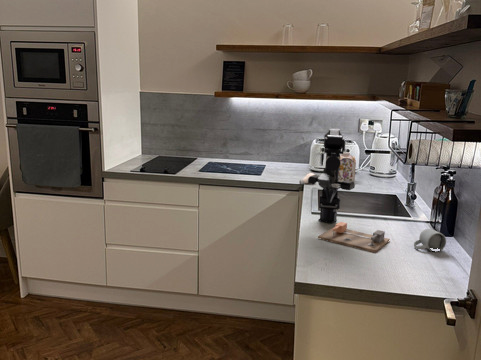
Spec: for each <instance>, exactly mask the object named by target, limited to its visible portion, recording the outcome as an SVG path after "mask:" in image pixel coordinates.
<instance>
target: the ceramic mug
mask: <svg viewBox="0 0 481 360" xmlns="http://www.w3.org/2000/svg"><path fill="white" fill-rule="evenodd" d="M420 244H422V245H420ZM446 244H447V238H446V236H445V235H444V234H443V233H441V232H439V231H436V230H435V229H433V228H426V229H424V230H422V231H421V232H420V233H419V238H418V240H416V241H415V242H414V243H413V247H415V248H417V249H421V250H425V249H427V250H429V251H430V252H432V250H431V249H430V248H433V249H437V248H438V249H440V250H441V251H443V250H444V249H445V247H446ZM415 248H414V249H415ZM417 249H416V250H417ZM421 250H420V251H421Z"/></svg>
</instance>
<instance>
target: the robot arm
mask: <svg viewBox="0 0 481 360" xmlns="http://www.w3.org/2000/svg"><path fill="white" fill-rule="evenodd" d="M323 136H324V138H323V148H324V149H323V153H325V166H324V167H323V171H322V173H321V174H320V175H318V174H315V175H313V176H310V177H309V178H308V183H310V184H309V185H316V183H318V186H319V187H320V188H322V190H321V194H320V195H319V204H318V208H319V209H320V212H319V213H320V214H319V219H318V220H317V221H318V222H320V223H321V222H322V223H327V224H333V223H335V222H336V221H337V220H338V219H337V216H338V212H337V210H339V209H340V206H341V205H340V204H341V199H340V196H339V191H338V190H339V189H341V190H345V191H351V190H354V189H355V185H356V183H355V180H354V181H349V180H345V181H342V182H340V181H338V180H340V178H339V171H340V168H339V167H340V164H341V163H340V155H341V154H343V152H346V141H345V138H344V136H343V134H342V133H341V129H340V128H328V131H327V133H325V134H324V135H323Z"/></svg>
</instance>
